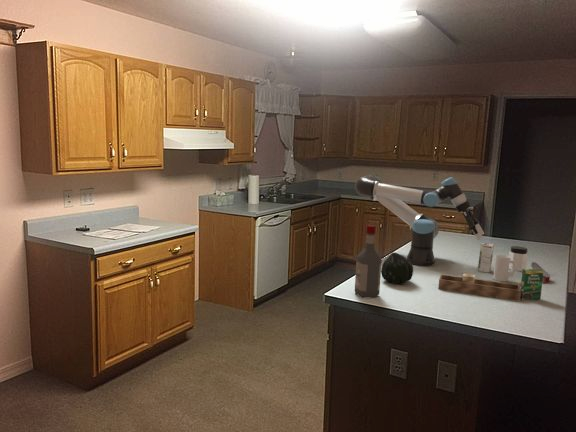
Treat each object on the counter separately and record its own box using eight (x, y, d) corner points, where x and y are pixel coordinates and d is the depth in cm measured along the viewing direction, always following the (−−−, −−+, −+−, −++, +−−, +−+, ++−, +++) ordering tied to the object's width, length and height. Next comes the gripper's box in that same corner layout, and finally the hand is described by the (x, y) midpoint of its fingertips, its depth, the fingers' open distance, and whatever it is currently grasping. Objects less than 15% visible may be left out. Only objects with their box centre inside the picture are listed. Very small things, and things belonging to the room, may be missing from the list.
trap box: (438, 289, 218) (439, 279, 218) (440, 283, 227) (441, 274, 227) (519, 300, 206) (521, 290, 205) (518, 294, 214) (519, 284, 214)
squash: (422, 270, 228) (403, 244, 231) (413, 279, 215) (393, 251, 218) (399, 285, 235) (381, 260, 238) (389, 294, 222) (370, 267, 225)
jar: (519, 272, 254) (521, 250, 252) (504, 268, 261) (507, 246, 259) (528, 270, 259) (531, 248, 257) (514, 266, 266) (516, 245, 264)
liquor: (361, 298, 201) (366, 228, 196) (352, 291, 210) (356, 224, 205) (381, 297, 204) (386, 227, 199) (371, 290, 212) (376, 223, 208)
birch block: (461, 285, 216) (462, 275, 216) (462, 282, 221) (463, 273, 220) (473, 287, 215) (474, 277, 214) (474, 284, 219) (475, 274, 218)
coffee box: (522, 299, 208) (525, 270, 206) (518, 297, 211) (522, 268, 209) (540, 300, 208) (544, 270, 206) (537, 298, 211) (540, 268, 209)
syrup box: (479, 268, 258) (482, 242, 256) (491, 270, 255) (494, 243, 253) (477, 271, 253) (480, 244, 251) (489, 272, 250) (492, 245, 248)
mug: (491, 279, 237) (493, 256, 235) (494, 277, 243) (496, 253, 241) (513, 283, 231) (516, 259, 230) (516, 280, 237) (518, 257, 235)
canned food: (537, 286, 245) (547, 269, 245) (548, 290, 235) (559, 273, 235) (518, 275, 245) (528, 258, 244) (529, 279, 235) (539, 261, 234)
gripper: (464, 202, 253) (486, 237, 251) (469, 197, 276) (489, 230, 273) (451, 209, 257) (472, 243, 254) (457, 204, 279) (477, 236, 276)
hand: (481, 236), depth 264 cm, fingers open, 13 cm apart
